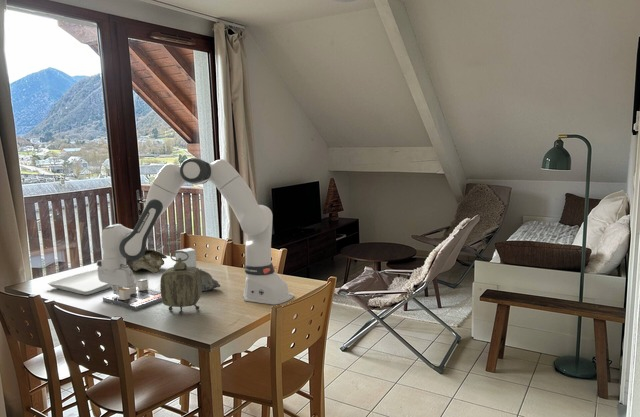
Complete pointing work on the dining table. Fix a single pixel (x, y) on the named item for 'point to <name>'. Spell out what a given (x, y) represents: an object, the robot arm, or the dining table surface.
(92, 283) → the square plate
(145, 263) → the hollow geode rock
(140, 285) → the breaker
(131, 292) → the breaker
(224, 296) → the dining table surface
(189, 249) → the skincare box
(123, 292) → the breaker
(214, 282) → the mineral rock
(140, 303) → the panel
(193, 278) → the tabletop clock
